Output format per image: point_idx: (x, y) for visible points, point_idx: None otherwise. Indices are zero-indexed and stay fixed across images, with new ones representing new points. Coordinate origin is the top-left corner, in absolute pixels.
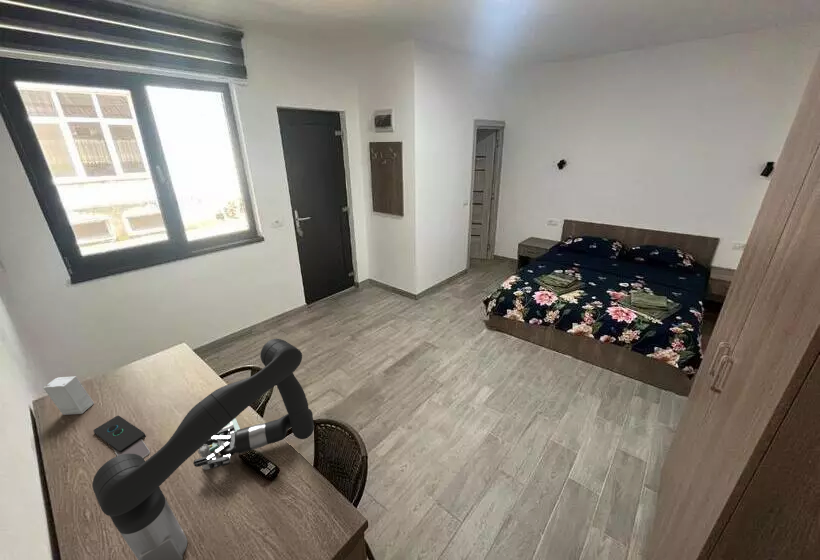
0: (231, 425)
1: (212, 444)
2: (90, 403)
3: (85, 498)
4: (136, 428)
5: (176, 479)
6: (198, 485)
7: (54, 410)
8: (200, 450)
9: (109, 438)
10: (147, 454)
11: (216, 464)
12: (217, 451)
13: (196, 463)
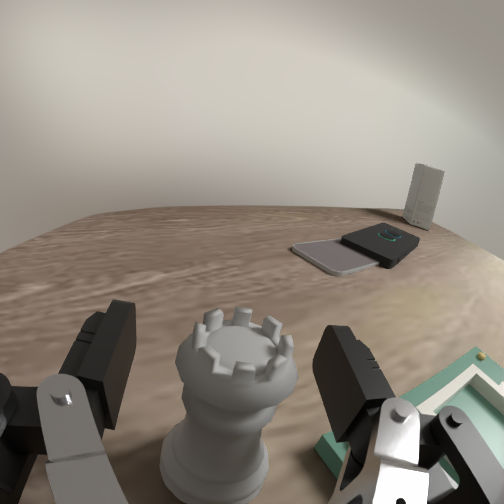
0: None
1: None
2: (426, 224)
3: (227, 218)
4: (402, 251)
5: (181, 335)
6: None
7: None
8: (210, 320)
9: (370, 230)
10: (330, 270)
11: (3, 472)
12: (60, 491)
13: (91, 317)
